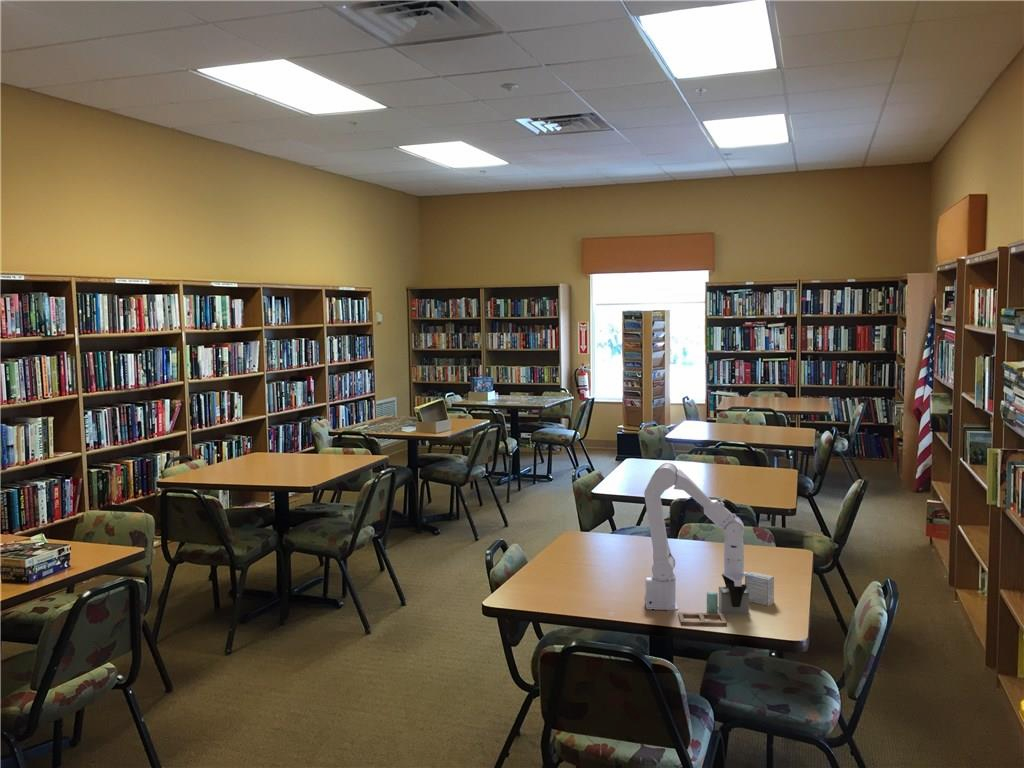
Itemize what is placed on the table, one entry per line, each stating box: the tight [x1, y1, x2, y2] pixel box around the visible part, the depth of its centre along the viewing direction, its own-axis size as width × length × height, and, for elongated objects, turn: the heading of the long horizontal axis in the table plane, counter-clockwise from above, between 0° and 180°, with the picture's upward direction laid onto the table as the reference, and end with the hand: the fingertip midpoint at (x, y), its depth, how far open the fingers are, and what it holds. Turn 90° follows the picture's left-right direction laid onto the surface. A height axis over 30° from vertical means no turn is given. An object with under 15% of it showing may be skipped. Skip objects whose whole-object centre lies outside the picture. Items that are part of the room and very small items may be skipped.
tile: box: [718, 606, 752, 617], centre depth 242 cm, size 9×7×3 cm
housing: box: [718, 586, 750, 614], centre depth 242 cm, size 8×5×6 cm
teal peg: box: [706, 591, 719, 613], centre depth 241 cm, size 3×3×6 cm
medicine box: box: [744, 571, 775, 607], centre depth 250 cm, size 8×4×9 cm, turn 48°
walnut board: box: [677, 611, 728, 627], centre depth 234 cm, size 13×8×1 cm, turn 84°
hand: (733, 602), depth 242 cm, fingers open, 7 cm apart
